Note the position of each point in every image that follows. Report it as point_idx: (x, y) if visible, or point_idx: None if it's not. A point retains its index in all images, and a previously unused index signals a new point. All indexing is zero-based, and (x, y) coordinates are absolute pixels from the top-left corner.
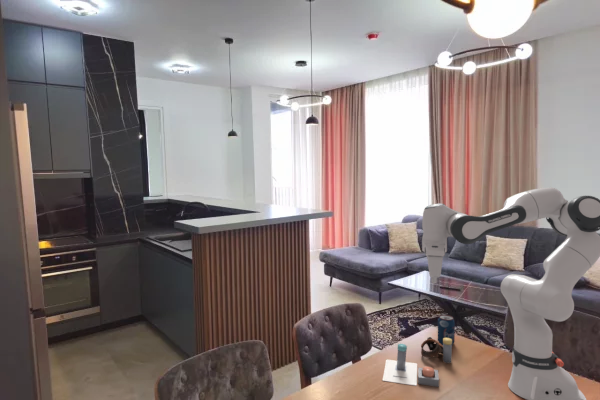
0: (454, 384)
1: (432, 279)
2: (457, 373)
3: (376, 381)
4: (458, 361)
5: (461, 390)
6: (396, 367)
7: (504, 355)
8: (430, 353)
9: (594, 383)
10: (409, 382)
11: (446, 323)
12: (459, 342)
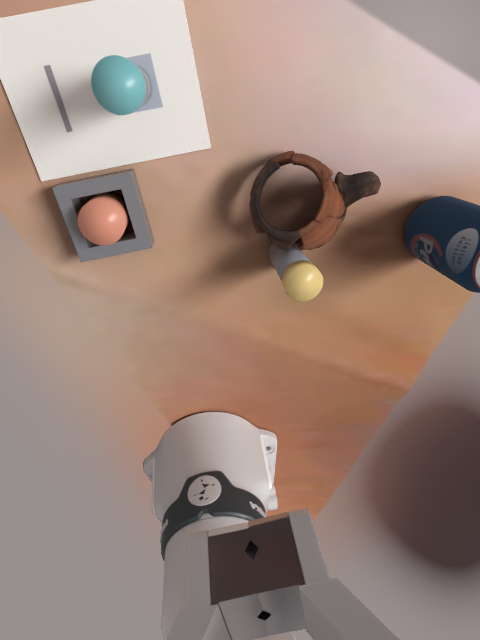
0: (133, 294)
1: (189, 603)
2: (210, 293)
3: None
4: None
5: (110, 316)
6: None
7: (383, 392)
8: (252, 204)
9: None
10: (42, 150)
11: (457, 263)
12: None
